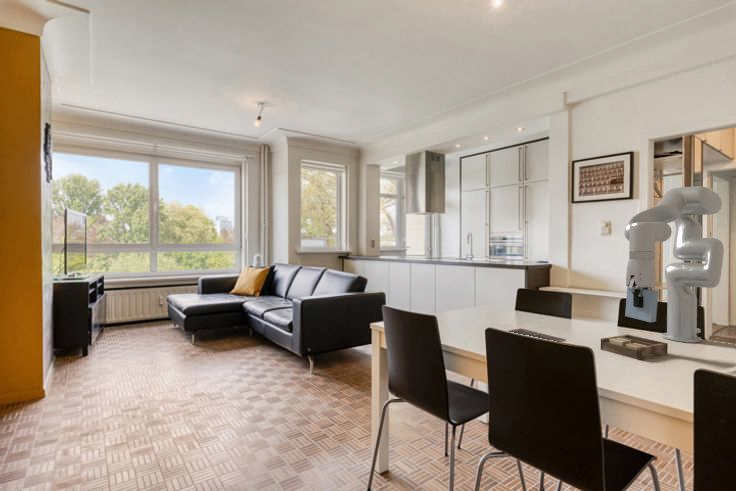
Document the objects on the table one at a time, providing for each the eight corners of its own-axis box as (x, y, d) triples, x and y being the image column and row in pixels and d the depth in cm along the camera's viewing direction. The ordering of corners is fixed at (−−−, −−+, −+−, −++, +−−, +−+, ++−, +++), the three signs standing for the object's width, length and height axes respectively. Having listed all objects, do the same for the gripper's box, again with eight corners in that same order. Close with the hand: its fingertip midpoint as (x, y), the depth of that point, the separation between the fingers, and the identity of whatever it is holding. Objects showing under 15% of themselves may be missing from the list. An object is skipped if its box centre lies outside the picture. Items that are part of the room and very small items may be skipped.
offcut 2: (634, 352, 140) (634, 342, 140) (648, 356, 136) (648, 346, 136) (625, 354, 138) (625, 344, 138) (639, 357, 134) (639, 347, 134)
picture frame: (494, 338, 168) (538, 350, 149) (494, 332, 168) (538, 344, 149) (521, 333, 176) (565, 344, 157) (521, 327, 176) (565, 338, 157)
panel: (630, 315, 147) (632, 286, 146) (655, 321, 139) (658, 291, 138) (625, 316, 146) (627, 286, 145) (650, 322, 138) (653, 291, 137)
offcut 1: (618, 348, 145) (618, 337, 145) (630, 351, 141) (631, 340, 141) (609, 349, 143) (609, 339, 143) (621, 353, 139) (621, 342, 139)
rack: (627, 347, 150) (627, 334, 150) (667, 357, 137) (667, 343, 137) (600, 352, 144) (600, 338, 144) (639, 363, 131) (640, 348, 131)
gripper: (645, 255, 148) (644, 303, 149) (616, 256, 142) (616, 306, 142) (666, 256, 141) (666, 306, 142) (637, 257, 135) (637, 310, 135)
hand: (641, 306), depth 142 cm, fingers closed on panel, 2 cm apart
